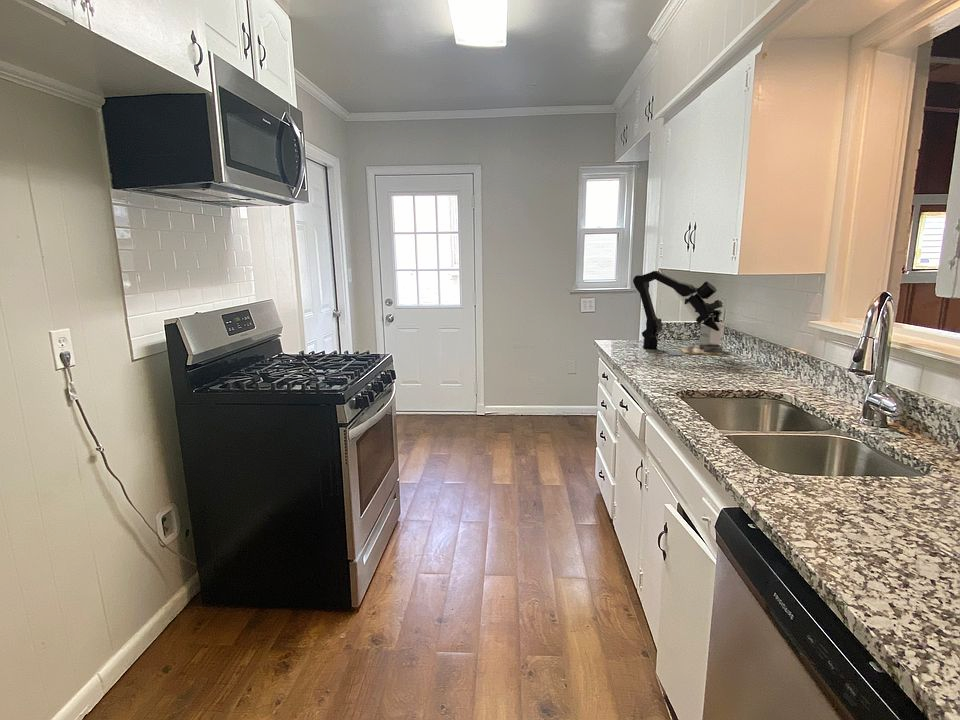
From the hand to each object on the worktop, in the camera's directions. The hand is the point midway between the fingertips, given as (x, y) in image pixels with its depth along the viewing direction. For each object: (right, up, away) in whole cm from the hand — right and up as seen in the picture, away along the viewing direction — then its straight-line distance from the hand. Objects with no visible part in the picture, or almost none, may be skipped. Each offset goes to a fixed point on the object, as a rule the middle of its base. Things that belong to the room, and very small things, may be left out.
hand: (720, 330), depth 251 cm
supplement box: (+6, -9, +26) cm, 28 cm away
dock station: (-3, -10, +16) cm, 19 cm away
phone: (-18, -12, +11) cm, 24 cm away
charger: (-1, -6, +2) cm, 7 cm away
